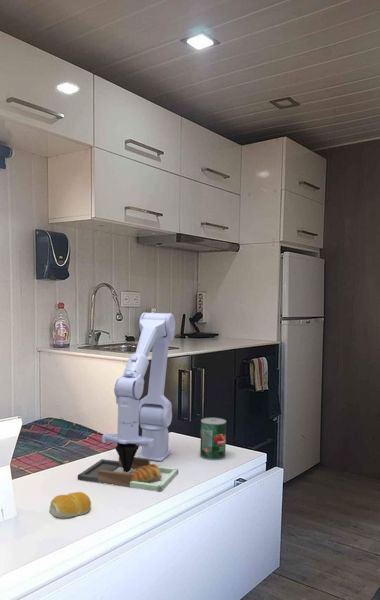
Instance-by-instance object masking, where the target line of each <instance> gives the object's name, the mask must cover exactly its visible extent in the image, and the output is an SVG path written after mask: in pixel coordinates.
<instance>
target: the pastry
mask: <svg viewBox="0 0 380 600" xmlns="http://www.w3.org/2000/svg"><path fill="white" fill-rule="evenodd" d="M158 466H159V465H157V464H156V463H150V464H149V465H147V466H140V467H138V468H137V469H133V470H132V471H130V472H128V473H129V474H132V481H137V482H144V483H151V482H152V483H155V482H159V481H160V480H161V479H162V476H163V475H162V472H160V470H159V467H158ZM152 483H151V484H152Z"/></svg>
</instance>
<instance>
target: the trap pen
mask: <svg viewBox="0 0 380 600" xmlns="http://www.w3.org/2000/svg"><path fill="white" fill-rule="evenodd" d="M118 468H120V467H119V460H111V459H103V458H101V459H100V460H98V461H96V462H95V463H94V464H93V465H91V466H90V467H88V468H86V469H85V470H83V471H82V472H80V473H78V474H77V480H78V481H84V482H89V483H90V482H91V483H97V484H98V471H99V470H106V471H114V472H115V471H116V470H117V469H118Z"/></svg>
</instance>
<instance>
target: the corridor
mask: <svg viewBox="0 0 380 600" xmlns="http://www.w3.org/2000/svg"><path fill="white" fill-rule="evenodd" d="M118 461H119V467H118V468H123V466H122V463H121V459H120V457H119V456H118ZM149 464H151V460H150V459H147V458H139V457H137V456H134V459H133V462H132V466H131V470H136V469H137V468H138V467H140V466H147V465H149ZM129 473H130V472H121V471H115V470H114V471H106V470H99V471H98V483H99V484H104V483H106V485H111V484H113V485H112V486H118V487H120V486H121V487H126V488H131V487H130V482H131V481H132V474H129ZM98 483H97V484H98Z"/></svg>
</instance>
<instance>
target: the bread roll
mask: <svg viewBox="0 0 380 600" xmlns="http://www.w3.org/2000/svg"><path fill="white" fill-rule="evenodd" d="M91 506H92V502H91V499H90V497H89V496H88V495H87V494H86V493H85V492H82V491H76V492H71V493H70V492H69V493H67V494H59V495H56V496H55V497H53V499H51V501H50V506H49V509H48V510H49V512H50V513H51V515H52V516H54V517H56V518H58V519H70V518H75V517H78V516H81V515H84V514H87V513H88V512H89V511H90V509H91Z"/></svg>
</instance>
